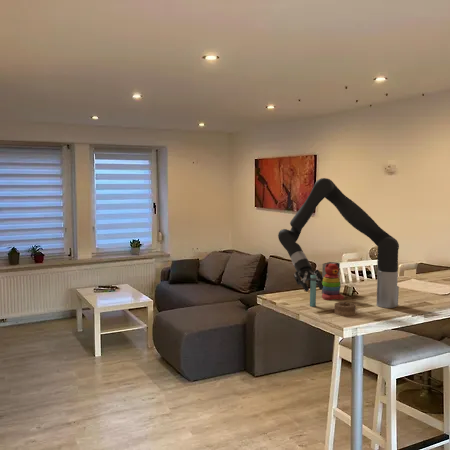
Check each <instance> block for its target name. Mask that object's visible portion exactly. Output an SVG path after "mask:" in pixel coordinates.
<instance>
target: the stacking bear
mask: <svg viewBox="0 0 450 450" xmlns="http://www.w3.org/2000/svg"><path fill="white" fill-rule="evenodd" d="M325 272H326V275H325V276H324V278H323V282H322V281H321V283H322V285H323V293H321V294H322V295H321V298H322V299H323V300H324V301H325V300H326V301H332V300H339V301H340V300H341V301H342V300H344V299H345V297H344V295H343V294H342V293H340V292H341V285H342V284H341V280H340V279H341V278H340V275H339V276H338V275H337V274H338V272H339V268H338V266H337V264H336V263H335V264H326V267H325ZM339 273H340V272H339Z"/></svg>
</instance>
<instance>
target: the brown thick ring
mask: <svg viewBox="0 0 450 450" xmlns="http://www.w3.org/2000/svg"><path fill="white" fill-rule="evenodd" d="M356 307H357V305H356V304H355V303H352V302H346V301H339V302H336V303H334V314H335V315H337V316H342V317H353V316H355V315H356V309H357V308H356Z"/></svg>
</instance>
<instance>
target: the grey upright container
mask: <svg viewBox="0 0 450 450" xmlns="http://www.w3.org/2000/svg"><path fill="white" fill-rule="evenodd" d="M335 263H336V264H337V266H338V268H339V272H338V274H337V275H338V276H339V277H340V272H341V271H340V267H341V266H340V264H341V263H340V262H335V261H328V262H325V263H322V269H321V270H322V271H321V273H322V274H321V276H322V277H323V278H324V276H325V275H326V272H325V267H326V264H335ZM322 282H323V280H322V281H321V283H322ZM321 294H323V289H322V290H321Z"/></svg>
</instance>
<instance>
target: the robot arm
mask: <svg viewBox="0 0 450 450" xmlns="http://www.w3.org/2000/svg"><path fill="white" fill-rule="evenodd" d="M324 199H326V200H327V201H329V202H330V203H331V204H332V205H333V206H334V207H335V208H336V210H337V211H338V212H339V214H340V215H341V217H343V218H344V220H345V221H346V222H347V223H348V224H349V225H351V226H352V227H353V228H354V229H355V230H356V231H358V232H360V233H361V234H362V235H364V236H366V237H367V238H369V239H370V241H372V243H374V244H375V246H376V247H377V262H376V263H377V275H376V276H377V278H376V279H377V280H376V284H377V285H376V306H377V307H380V308H386V309H391V308H393V309H394V308H396V307H397V306H399V288H400V287H399V285H398V280H399V279H398V274H399V249H400V244H399V241H398V240H397V239H396V238H395V237H393V236H392V235H390V234H389V233H388V232H386V231H385V230H384V229H383V228H381V226H379V225H378V224H377V222H376V221H375V220H374V219H373V218H372V217H371V216H370V215H369V214H368V213H367V212H366V211H365V210H364V209H363V208H362V207H360V206H359V205H358V204H357V203H355V201H353V200H352V199H350V197H348V196H347V195H345V194H344V193H343V192H342V191H341V190H340V188H339V187H338V186H337V185H336V184H335V183H334V181H332V179H330V178H326V177H322V178H319V179H318V180H316V181H315V183H314V185H313V187H312V189H311V191H310V193H309V195H308V196H307V198H306V200H305V202H304V203H303V204H302V205H301V206H300V208H299V209H298V210H297V212H296V214H295V215H294V216H293V218H292V219H291V220H290V222H289V224H290V226H291V228H290V230H289V229H287V228H283V229H281V230H280V231H279V232H278V233H277V237H278V241H279V243H280V244H281V245H282V247H283V248H284V249H285V251H286V252H287V254H288V256H289V258H290V260H291V263H292V265H293V266H294V269H295V272H294V274H293V278H294V280H295V283H296V284H297V285H298V286H299V285H300V286H301V287H302V288H303V290H304V291H305V292H306V293H307V292H308V291H310V287H309V286H308V284H307V283H306V281H310V275H316V286H317V287H318V289H319V290H320V291H322V289H323V285H322V280H323V277H322V274H321V272H320V270H318V269H316V270H313V269H312V265H311V263H310V261H309V259H308V257H307V255H306V254H305V253H304V250H303V248H302V247H301V245H300V244H299V243H298V242H297V241H298V239H299V237H300V235H301V232H302V230H303V229H304V227H305V225H306V224H307V223H308V221H309V220H310V219H311V218H312V215H313V213H314V212H315V210H316V208H317V207H318V205H319V204H320V203H321V202H322V201H323V200H324Z"/></svg>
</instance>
